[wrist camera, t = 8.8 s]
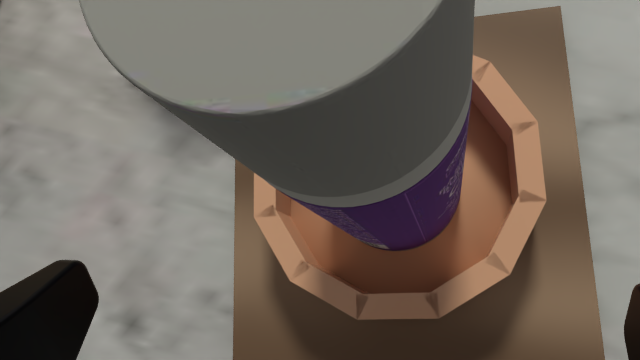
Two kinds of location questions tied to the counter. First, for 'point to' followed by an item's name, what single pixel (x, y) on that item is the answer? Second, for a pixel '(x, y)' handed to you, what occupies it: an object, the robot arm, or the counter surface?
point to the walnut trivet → (488, 306)
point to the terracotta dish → (447, 248)
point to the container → (316, 97)
